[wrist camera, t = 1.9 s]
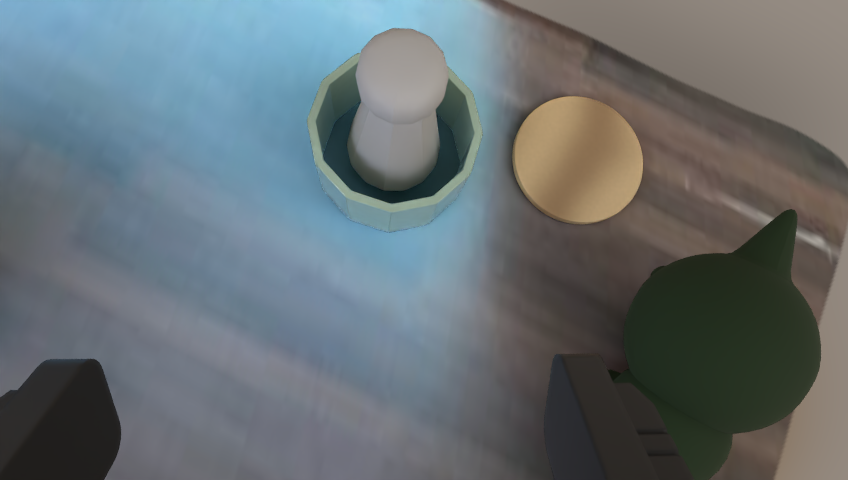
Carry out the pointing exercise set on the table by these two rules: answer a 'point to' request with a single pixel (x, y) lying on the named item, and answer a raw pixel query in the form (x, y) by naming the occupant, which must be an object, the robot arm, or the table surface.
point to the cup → (327, 108)
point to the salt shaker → (397, 109)
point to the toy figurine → (723, 344)
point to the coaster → (577, 160)
